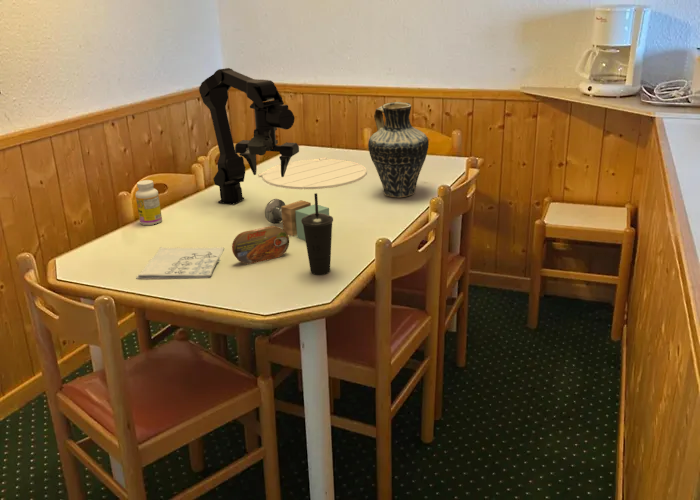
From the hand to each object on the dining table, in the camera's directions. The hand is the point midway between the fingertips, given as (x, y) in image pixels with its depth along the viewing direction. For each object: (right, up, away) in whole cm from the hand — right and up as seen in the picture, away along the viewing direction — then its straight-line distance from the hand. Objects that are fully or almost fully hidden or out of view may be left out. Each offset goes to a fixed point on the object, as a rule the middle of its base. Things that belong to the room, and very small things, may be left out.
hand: (268, 175), depth 201 cm
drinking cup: (+17, -28, -38) cm, 50 cm away
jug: (+41, -4, +19) cm, 45 cm away
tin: (+2, -25, -29) cm, 38 cm away
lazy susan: (+11, +5, +47) cm, 49 cm away
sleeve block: (+10, -17, -10) cm, 22 cm away
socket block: (+15, -19, -15) cm, 28 cm away
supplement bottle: (-36, -14, +2) cm, 39 cm away
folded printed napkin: (-18, -27, -29) cm, 44 cm away
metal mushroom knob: (+7, -16, -8) cm, 19 cm away
